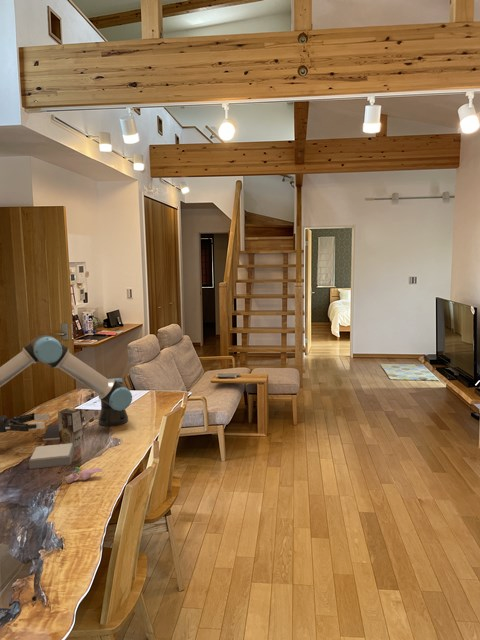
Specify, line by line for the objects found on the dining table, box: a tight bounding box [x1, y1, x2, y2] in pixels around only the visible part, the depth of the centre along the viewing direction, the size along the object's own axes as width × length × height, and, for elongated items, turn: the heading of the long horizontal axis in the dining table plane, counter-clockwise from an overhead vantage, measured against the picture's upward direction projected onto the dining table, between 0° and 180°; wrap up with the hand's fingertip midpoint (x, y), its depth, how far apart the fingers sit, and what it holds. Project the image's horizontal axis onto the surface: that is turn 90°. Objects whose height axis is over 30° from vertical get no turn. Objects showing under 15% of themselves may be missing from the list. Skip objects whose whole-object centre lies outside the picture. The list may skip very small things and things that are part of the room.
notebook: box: [41, 424, 60, 442], centre depth 255 cm, size 13×2×21 cm
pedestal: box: [28, 443, 75, 470], centre depth 218 cm, size 16×16×4 cm
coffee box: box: [57, 408, 85, 448], centre depth 237 cm, size 9×6×16 cm
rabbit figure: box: [61, 466, 103, 485], centre depth 197 cm, size 6×6×15 cm
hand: (47, 420), depth 234 cm, fingers open, 13 cm apart
